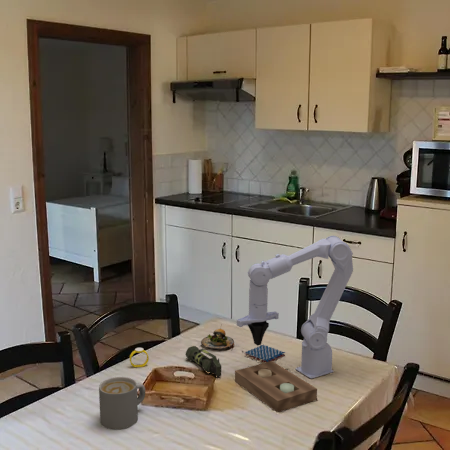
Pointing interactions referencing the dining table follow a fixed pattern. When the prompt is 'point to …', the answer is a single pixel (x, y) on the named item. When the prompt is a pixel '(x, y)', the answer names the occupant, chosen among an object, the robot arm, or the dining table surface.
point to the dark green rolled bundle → (204, 360)
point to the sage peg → (286, 387)
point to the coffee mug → (119, 402)
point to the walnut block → (275, 386)
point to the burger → (218, 340)
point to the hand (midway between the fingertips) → (257, 344)
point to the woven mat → (264, 354)
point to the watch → (139, 350)
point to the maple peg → (264, 373)
